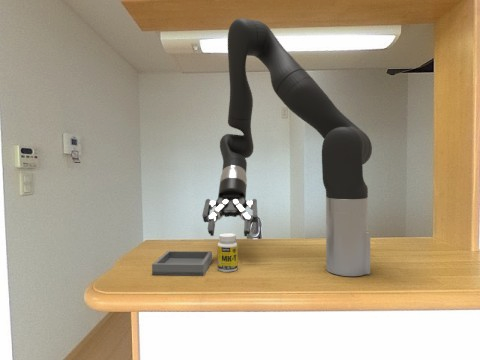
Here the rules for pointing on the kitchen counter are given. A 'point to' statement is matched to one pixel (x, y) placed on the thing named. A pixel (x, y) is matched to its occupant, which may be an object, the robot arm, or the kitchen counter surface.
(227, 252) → the supplement bottle
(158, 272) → the tray
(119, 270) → the kitchen counter surface
